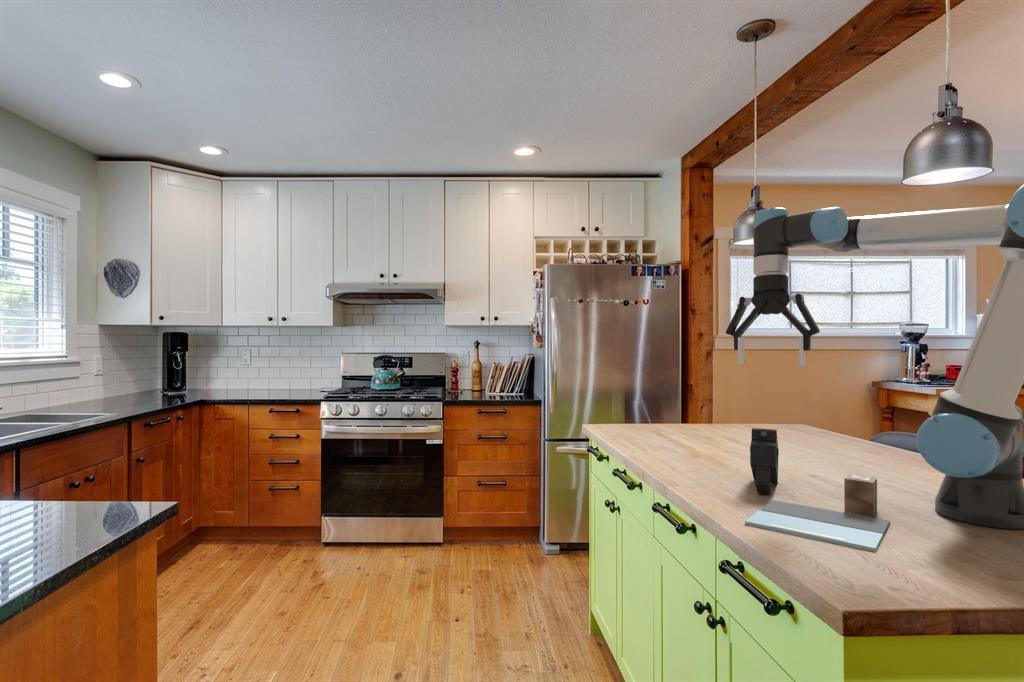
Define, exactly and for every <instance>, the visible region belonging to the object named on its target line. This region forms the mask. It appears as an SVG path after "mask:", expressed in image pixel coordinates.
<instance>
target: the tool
mask: <svg viewBox="0 0 1024 682" xmlns="http://www.w3.org/2000/svg"><path fill="white" fill-rule="evenodd" d="M777 431H778V430H777V429H774V428H773V429H770V428H756V427H752V428H751V438H750V439H751V441H750V446H749V453H750V457H749V458H750V459H749V463H750V464H749V465H750V468H751V473H752V477H753V481H754V482H755V488H756V489H755V490H756V494H765V495H771V484H777V485H778V484H779V453H780V452H779V441H778V432H777Z"/></svg>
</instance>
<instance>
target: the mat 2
mask: <svg viewBox="0 0 1024 682" xmlns="http://www.w3.org/2000/svg"><path fill="white" fill-rule="evenodd" d="M744 525H747V526H752V527H756V528H760V529H766V530H770V529H771V530H770V531H774V530H776V532H779V531H780V533H785V534H789V535H794V536H798V537H804V538H808V539H813V540H818V541H822V542H827V543H832V544H837V545H842V546H846V547H852V548H855V549H861V550H865V551H871V552H874V553H876V551H877V550H878V548H879V546H880V544H881V542H882V540H883V538H884V536H883V534H881V533H876V532H871V531H866V530H860V529H855V528H850V527H845V526H839V525H834V524H829V523H824V522H819V521H813V520H808V519H803V518H798V517H792V516H787V515H782V514H777V513H772V512H766V511H761V509H760V510H758V511H757V512H755V513H754V514H753V515H751V516H750V517H749V518H747V519H746V520H744Z"/></svg>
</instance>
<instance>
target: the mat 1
mask: <svg viewBox="0 0 1024 682" xmlns="http://www.w3.org/2000/svg"><path fill="white" fill-rule="evenodd" d="M760 510H761V511H766V512H772V513H777V514H782V515H787V516H792V517H798V518H803V519H808V520H813V521H819V522H824V523H829V524H834V525H839V526H845V527H850V528H855V529H860V530H866V531H871V532H876V533H881V534H883V537H884V536H885V534H886V533H887V531H888V528H889V526H890V524H891V520H889V519H883V518H877V517H874V518H873V517H867V516H862V515H856V514H850V513H845V511H844V512H843V511H839V510H838V511H837V510H833V509H832V510H831V509H826V508H821V507H820V508H819V507H816V506H815V507H814V506H810V505H809V506H808V505H805V504H804V505H803V504H797V503H792V502H786V501H781V500H775V499H773V500H771V501H770V502H769V503H767V504H766V505H765V506H763V507H762V508H760Z"/></svg>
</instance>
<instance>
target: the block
mask: <svg viewBox="0 0 1024 682" xmlns="http://www.w3.org/2000/svg"><path fill="white" fill-rule="evenodd" d="M843 480H844V487H843V488H844V513H849V514H855V515H861V516H866V517H872V518H875V516H876V515H877V513H878V477H874V476H873V477H872V476H865V475H858V474H852V473H851V474H850V473H848V475H846V477H845V478H844V479H843Z"/></svg>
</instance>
